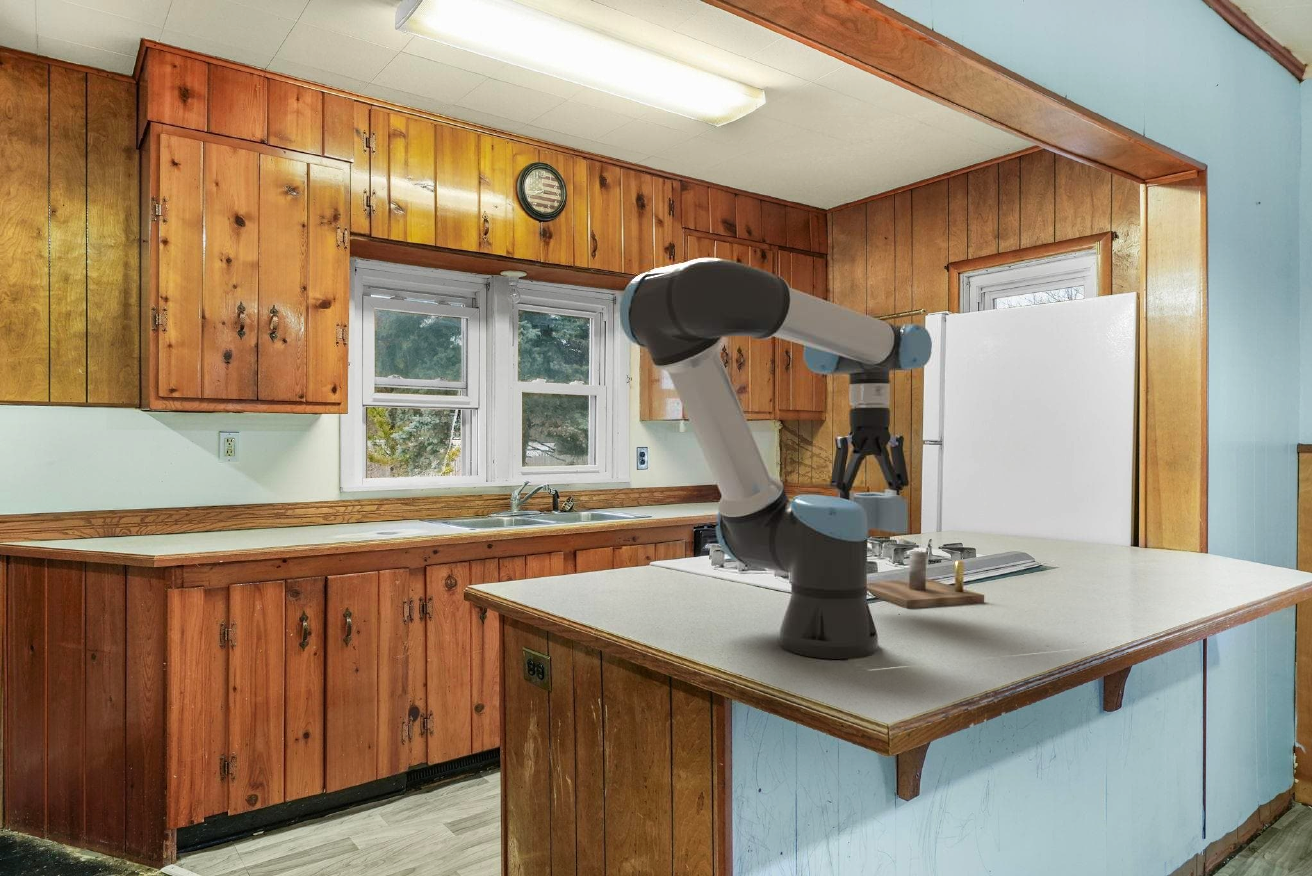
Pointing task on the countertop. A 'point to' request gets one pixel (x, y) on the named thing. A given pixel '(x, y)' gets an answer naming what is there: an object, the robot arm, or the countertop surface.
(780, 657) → the countertop surface
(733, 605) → the countertop surface
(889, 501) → the pale blue notched block
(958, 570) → the dowel
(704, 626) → the countertop surface
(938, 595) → the post base
